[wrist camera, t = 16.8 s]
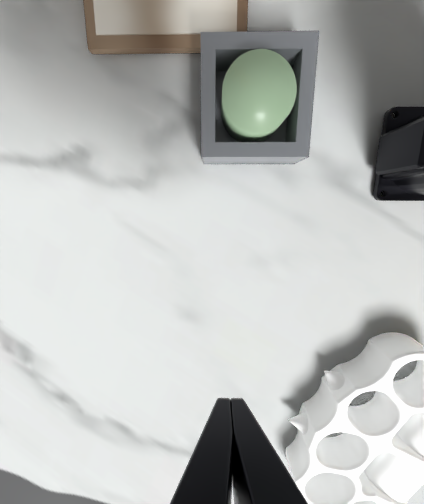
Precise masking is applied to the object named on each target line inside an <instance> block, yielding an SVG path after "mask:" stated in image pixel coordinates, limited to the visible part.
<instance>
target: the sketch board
mask: <svg viewBox="0 0 424 504" xmlns="http://www.w3.org/2000/svg"><path fill="white" fill-rule="evenodd" d="M83 1H84V12H85V23H86V33H87V44H88V50H89V51H90V52H91V53H92V54H157V53H201V32H247V11H248V0H83Z"/></svg>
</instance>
